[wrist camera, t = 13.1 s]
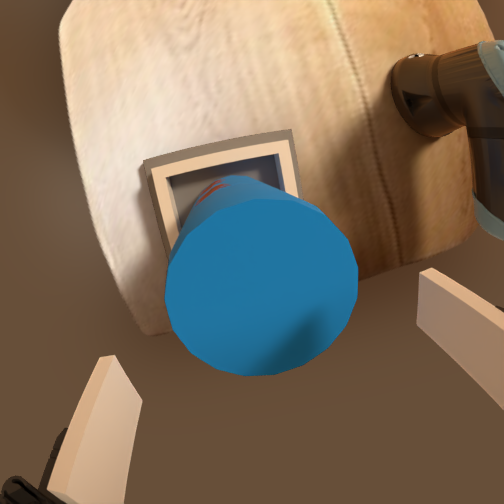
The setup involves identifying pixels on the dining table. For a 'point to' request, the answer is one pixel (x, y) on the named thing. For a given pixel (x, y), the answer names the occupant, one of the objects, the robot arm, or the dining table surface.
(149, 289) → the dining table surface
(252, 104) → the dining table surface
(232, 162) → the holder
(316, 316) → the thermos
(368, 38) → the dining table surface
